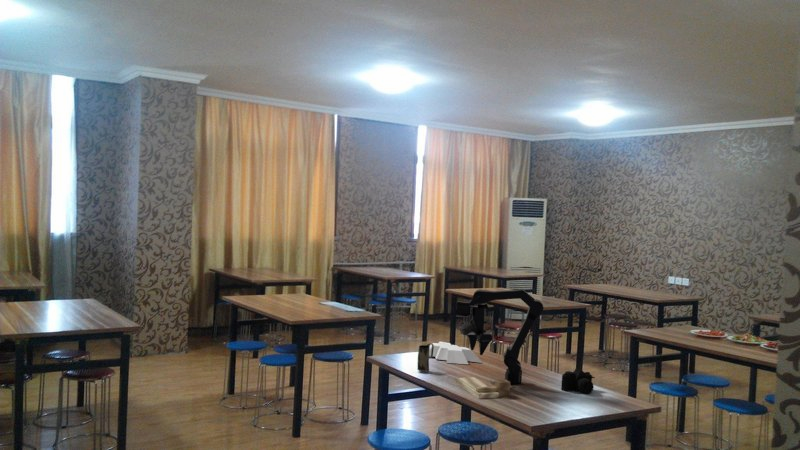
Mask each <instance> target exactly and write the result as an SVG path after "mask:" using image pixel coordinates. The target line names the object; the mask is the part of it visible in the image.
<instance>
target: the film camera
mask: <svg viewBox="0 0 800 450" xmlns="http://www.w3.org/2000/svg"><path fill="white" fill-rule="evenodd" d="M593 379H595V376H593V375H592V374H591V372H590V371H583V370H582V369H581V368H578V369H577V368H575V369H574V371H570V370H569V371H565V372H564V373H563V374H562V375H561V389H560V390H561V391H562V392H580V393H582V394H584V395H590V394H591V393H592V392H593V390H594V388H595V387H594V386H595V385H594V382H593Z"/></svg>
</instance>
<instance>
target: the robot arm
mask: <svg viewBox="0 0 800 450" xmlns="http://www.w3.org/2000/svg"><path fill="white" fill-rule="evenodd" d="M516 299H517V300H518V299H519V300H521V301H522V302H523V303H525V304H526V305H527V307H528V308H527V311H526V316H525V319H524V321H523V323H522V324H521V327H520V328H519V331H518V333H517V335H516V337H515V339H514V341H513V343H512V345H511V346H510V347H509V346H508V345H507V346H506V348H505V351H504V352H503V353H502V355H503V363H504V365H505V366H506V367H507V368H506V369H505V373H504V380H507V381H509V382H510V386H516V385H518V386H519V385H521V386H522V385H524V383H523V382H522V377H523V369H522V364H521V362H520V361H519V360H518V359H519V355H520V352H521V349H522V346H523V345H524V344H525V341H526V339H527V337H528V335H529V332H530V331H531V329H532V327H533V325H534V323H535V321H536V320H537V319H538V318H539V317H540V315H541V314H542V313H543V312H544V305H543V303H542V301H541V300H540V299H538V298H537V299H535V298H534V297H533V296H532V295H530V294H529V293H528V292H526V290H525V289H523V288H520V289H511V290H496V291H495V290H489V289H476V290H475V291H474V292H473V295H472V298H471V299H470V300H469V301H459V300H457V302H456V308H455V317H461V318H468V317H469V316H471V315H472V316H471V318H470V320H469V322H468V323H465V324H463V325H460V326H459V332H460V334H461V335H463V336H466V337H467V339H468V343H469V347H470V348H469V349H470V350H472V351H474V350H475V346H476V344H477V343H478V347H479V348H478V349H479V355H480V356H483V354H484V353H485V351H486V349H487V347H488V346H489V344H490V343H491V342H492V341H493V340H494V339H493V338H494V336H493V335H492V334H491V333H489V332H487V330H486V329H485V327H486V326H485V325H486V324H487V320H486V310H490V305H489V304H488V302H489V303H490V302H492V301H500V300H501V301H502V300H516Z"/></svg>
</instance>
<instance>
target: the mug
mask: <svg viewBox="0 0 800 450" xmlns="http://www.w3.org/2000/svg"><path fill="white" fill-rule="evenodd" d="M431 344H432V343H428V344H426V345H425V344H423V345H422V344H421V345H419V346H418V351H417V371H419V372H429V371H430V359H432V358H433V357H432V356H433V349H434V345H433V344H432V351H431V356H429V349H430V345H431Z"/></svg>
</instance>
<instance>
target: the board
mask: <svg viewBox="0 0 800 450" xmlns="http://www.w3.org/2000/svg"><path fill="white" fill-rule="evenodd" d="M454 383H455V384H457V385H458V386H460V388H462V389H464V390H465V391H467V393H469V394H471V395H472V396H473V397H476V398H477V399H479V400H480V399H497V398H500V397H499V393H498V392H496V391H479V392H477V391H476V387H490V386H489V385H487V384H485V383H484V382H483V381H481V380H479V379H478V378H476V377H475V376H471V377H468V376H467V377H455V379H454Z"/></svg>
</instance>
